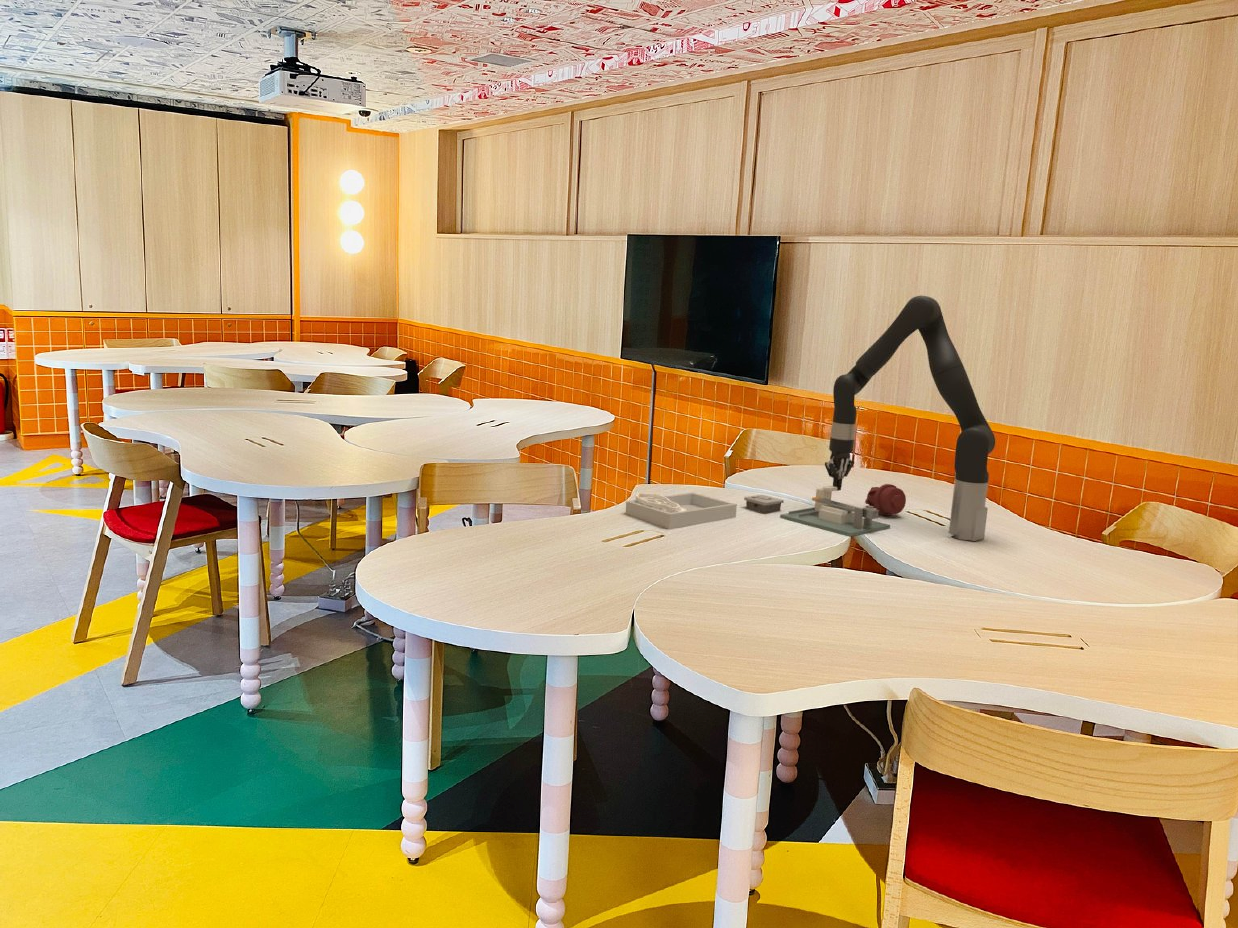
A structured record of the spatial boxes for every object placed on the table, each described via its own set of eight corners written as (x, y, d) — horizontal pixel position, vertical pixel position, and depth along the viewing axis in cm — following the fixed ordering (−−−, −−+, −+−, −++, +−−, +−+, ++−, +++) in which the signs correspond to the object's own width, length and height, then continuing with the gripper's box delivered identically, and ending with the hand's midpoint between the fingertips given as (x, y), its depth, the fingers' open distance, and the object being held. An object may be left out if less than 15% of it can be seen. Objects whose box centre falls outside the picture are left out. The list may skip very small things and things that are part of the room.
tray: (735, 518, 285) (736, 504, 284) (669, 529, 266) (670, 514, 266) (691, 505, 299) (692, 492, 298) (625, 515, 280) (626, 501, 280)
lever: (878, 518, 275) (879, 510, 275) (871, 519, 273) (872, 511, 272) (818, 501, 291) (818, 494, 291) (811, 502, 289) (812, 495, 289)
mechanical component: (859, 512, 304) (860, 482, 303) (883, 511, 308) (884, 481, 307) (885, 518, 293) (886, 486, 292) (909, 516, 297) (911, 485, 296)
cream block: (835, 512, 296) (837, 487, 294) (827, 513, 293) (829, 488, 292) (822, 508, 299) (824, 484, 298) (814, 510, 297) (816, 485, 295)
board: (890, 528, 282) (892, 505, 281) (850, 536, 269) (852, 512, 268) (820, 510, 301) (822, 489, 300) (780, 517, 288) (781, 495, 287)
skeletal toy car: (690, 531, 272) (692, 507, 270) (655, 533, 268) (657, 508, 266) (662, 514, 290) (664, 491, 289) (629, 516, 286) (631, 493, 285)
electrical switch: (742, 497, 297) (761, 489, 302) (743, 512, 298) (762, 504, 304) (765, 503, 290) (784, 495, 295) (765, 518, 291) (785, 510, 297)
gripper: (839, 440, 290) (833, 494, 293) (864, 437, 299) (858, 490, 302) (819, 436, 296) (814, 489, 299) (845, 434, 304) (839, 486, 308)
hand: (836, 490), depth 301 cm, fingers closed
